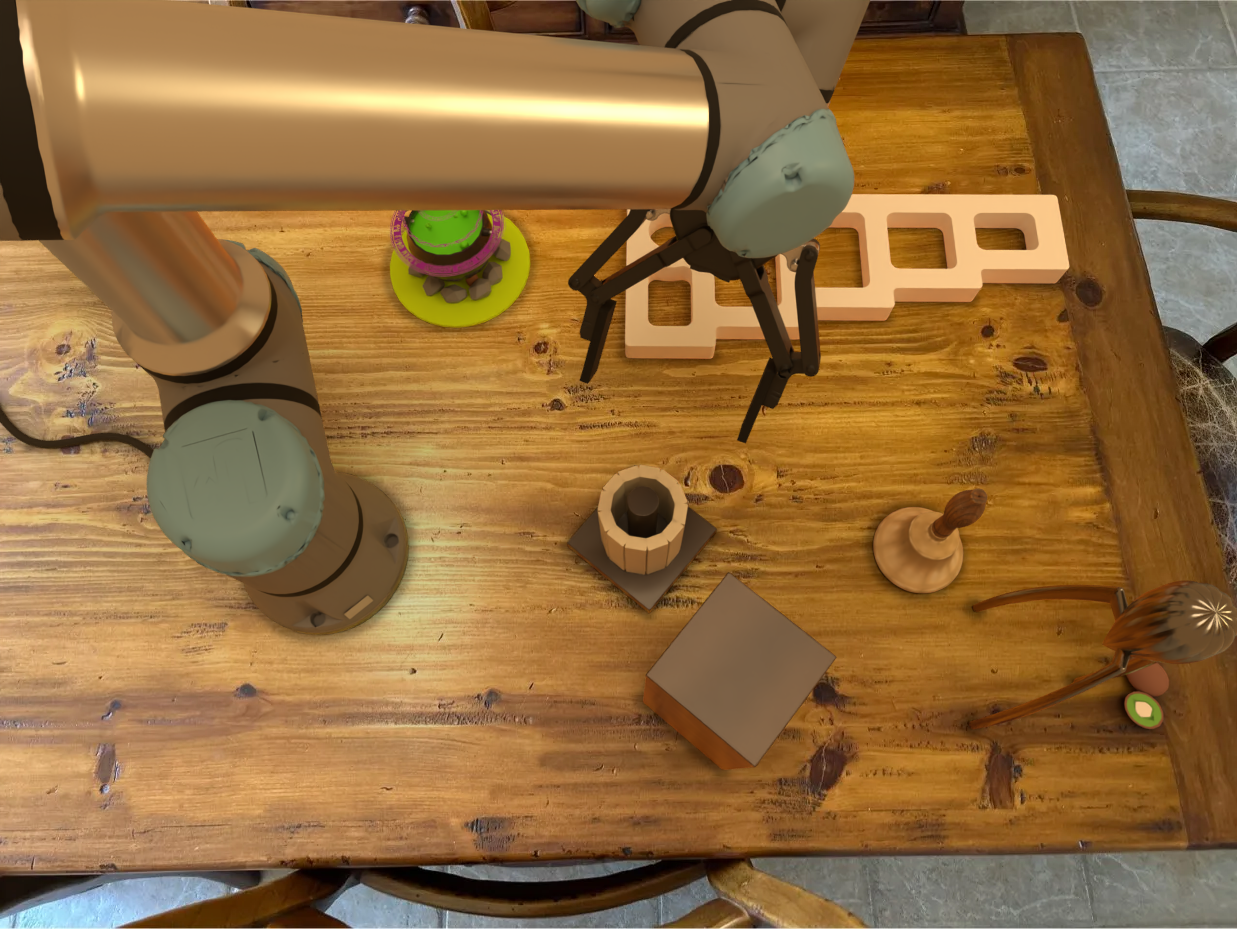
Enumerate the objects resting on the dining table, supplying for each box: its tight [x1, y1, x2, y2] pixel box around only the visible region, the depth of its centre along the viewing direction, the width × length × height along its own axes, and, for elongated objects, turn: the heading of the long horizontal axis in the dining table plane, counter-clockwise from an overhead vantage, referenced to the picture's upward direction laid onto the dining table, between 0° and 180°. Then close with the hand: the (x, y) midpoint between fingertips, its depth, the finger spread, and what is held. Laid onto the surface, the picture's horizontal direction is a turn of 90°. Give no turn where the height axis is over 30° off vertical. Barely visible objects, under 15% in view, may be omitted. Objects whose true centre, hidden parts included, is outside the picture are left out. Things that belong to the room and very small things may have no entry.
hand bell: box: [872, 487, 988, 594], centre depth 75 cm, size 8×8×16 cm
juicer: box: [968, 579, 1237, 730], centre depth 65 cm, size 10×11×30 cm
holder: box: [624, 193, 1070, 360], centre depth 91 cm, size 45×18×3 cm, turn 89°
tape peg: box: [566, 464, 718, 614], centre depth 78 cm, size 10×10×12 cm
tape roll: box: [597, 464, 689, 575], centre depth 78 cm, size 7×7×9 cm
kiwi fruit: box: [1123, 656, 1170, 730], centre depth 77 cm, size 6×5×3 cm
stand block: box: [642, 571, 837, 771], centre depth 69 cm, size 9×9×22 cm
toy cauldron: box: [389, 210, 532, 329], centre depth 89 cm, size 15×15×11 cm
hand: (665, 405), depth 72 cm, fingers open, 13 cm apart
